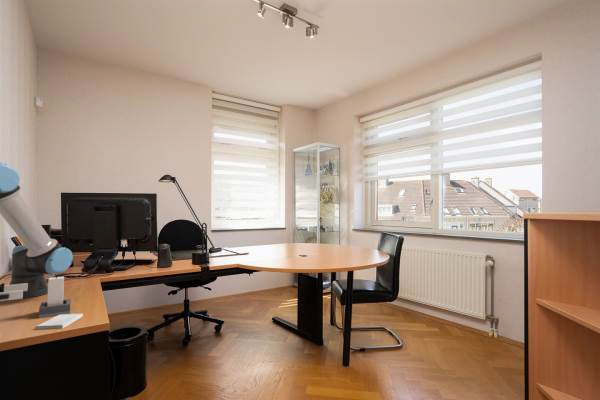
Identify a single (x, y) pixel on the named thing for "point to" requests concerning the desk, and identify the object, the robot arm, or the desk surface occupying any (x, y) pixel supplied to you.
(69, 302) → the socket dock
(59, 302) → the block
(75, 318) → the hard drive
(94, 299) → the desk surface
